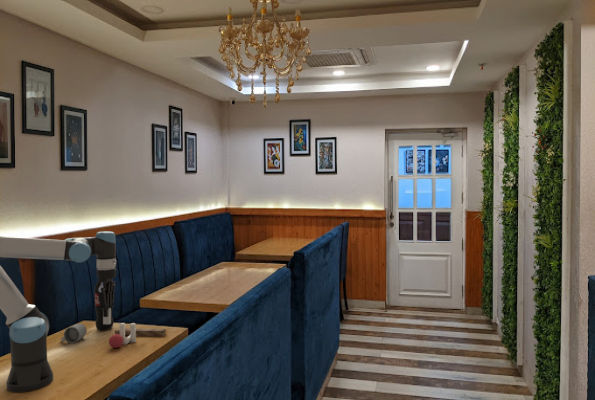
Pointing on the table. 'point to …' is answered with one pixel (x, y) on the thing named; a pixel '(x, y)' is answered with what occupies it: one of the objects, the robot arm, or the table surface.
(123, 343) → the pin front
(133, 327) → the pin
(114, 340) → the ball
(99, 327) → the cola bottle
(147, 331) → the back rail
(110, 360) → the table surface
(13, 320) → the robot arm
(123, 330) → the pin
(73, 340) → the ceramic mug
